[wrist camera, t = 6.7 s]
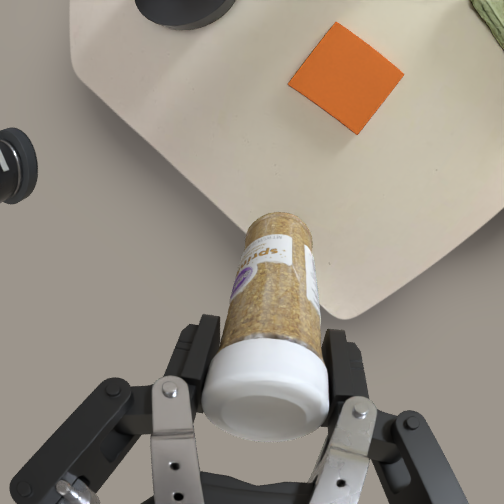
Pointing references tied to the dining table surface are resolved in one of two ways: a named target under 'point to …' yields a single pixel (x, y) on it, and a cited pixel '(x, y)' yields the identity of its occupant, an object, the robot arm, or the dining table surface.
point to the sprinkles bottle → (271, 340)
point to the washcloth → (492, 16)
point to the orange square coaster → (346, 78)
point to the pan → (183, 12)
